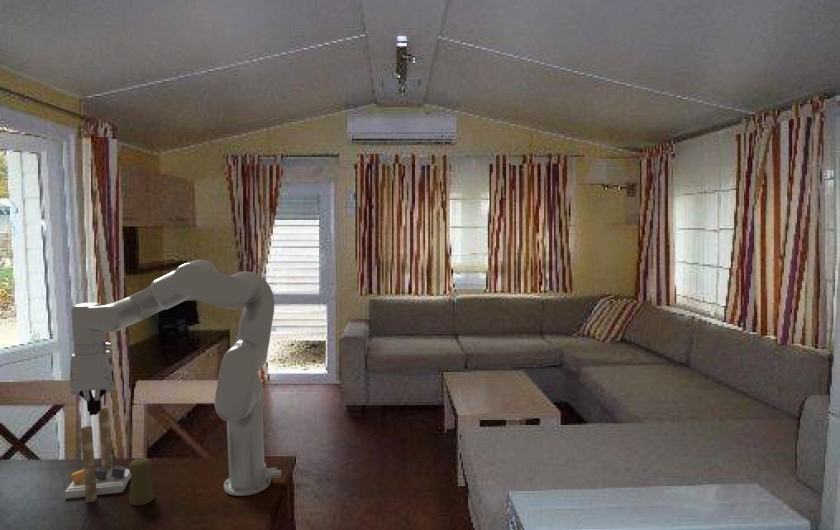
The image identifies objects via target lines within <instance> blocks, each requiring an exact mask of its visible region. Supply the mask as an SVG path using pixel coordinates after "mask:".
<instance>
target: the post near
mask: <svg viewBox="0 0 840 530" xmlns="http://www.w3.org/2000/svg"><path fill="white" fill-rule="evenodd" d="M80 438H81V439H80V441H81V454H82V466H83V467H82V468H83V469H84V483H85V496H84V497H85V502H86V503H88V504H89V503H93V502H96V501H97V500H98V495H97V490H96V476H95V470H96V465H95V451H94V438H93V427H92V425H86V426H83V427H81V428H80Z"/></svg>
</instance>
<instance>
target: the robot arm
mask: <svg viewBox="0 0 840 530" xmlns="http://www.w3.org/2000/svg"><path fill="white" fill-rule="evenodd" d="M274 296H275V295H274V293H273V290H272V287H271V286H270V284H269V283H268V281H266V280H265V278H264V277H262V276H261V275H259V274H258V273H255V272H253V271H247V270H244V271H243V270H242V271H239V272H236V273H233V274H230V275H229V274H225V273H223V272H219V271H218V269H217V267H216V266H215V264H214V263H212V262H211V261H209V260H208V259H207V260H206V259H196V260H192V261H188V262H185V263H183V264H181V265H179V266H178V267H177V268H176V269H175V270H172V271H171V272H169V273H167V274H164V275H162V276H159V277H157V278H156V279H154V280H153V281H151V284H150V285H149V286H148V287H146V288H144V289H142V290H140V291H138V292H136V293H133V294H132V295H129V296H127V297H125V298H123V299H120V300H117V301H114V302H111V303H108V304H103V305H102V303H99V302H97V301H96V302H93V301H91V302H81V303H77V304H74V305H73V306H72V307H71V310H70V311H71V314H70V315H71V325H72V326H71V327H72V338H73V339H72V341H73V352H74V353H72V354H71V358H70V365H69V366H70V367H69V388H70V394H71V395H74V396H80V397H81V398H83V399H84V401H85V402H86V408H87V409H86V411H87V412H89V416H97V415H99V411H100V410H101V407H102V401H101V400H102V399H101V398H102V397H103V396H104V395H105V394H108V393H111V392H112V393H113V392H115V389H116V387H115V382H116V374H115V368H114V363H113V358H112V354H111V351H110V350H108V349H111V348H112V347H113V346H112V344H113V343H112V342H107V339H106V333H116V332H118V331H119V332H120V331H121V330H124V329H125V328H128V327H129V326H131V325H135V324H137V323H138V322H141V321H143V320H145V319H147V318H149V317H151V316H153V315H155V314H157V313H159V312H161V311H164V310H169V309H171V308H173V307H175V306H177V305H180V304H181V303H183V302H185V301H188V300H190V299H193V300H196V301H200V302H203V303H207V304H210V305H212V306H217V307H220V308H222V309H223V308H224V309H230V310H235V309H236V310H237V309H240V308H241V307H243V308H242V313H241V315H240V319H239V325H238V331H237V336H236V340H235V343H234V344H233V345H232V346H230V348H228V350H227V351H226V352H225V353H224V355H223V357H222V359H221V363H220V367H219V372H218V378H217V383H216V390H215V395H214V409H215V412H216V414H217V415H218V417H219V418H220V419H222V420H223V421H225V422H226V429H227V431H226V432H227V433H226V434H227V435H226V436H227V455H228V460H227V461H228V478H227V479H225V481H224V483H223V490H224V492H225V493H226V494H229V495H230V496H231V495H232V496H236V497H246V496H252V495H256V494H260V492H263V491H264V490H266V489H267V488H268V487H269V486H270V485H271V482H272V481H271V480H272V479H273V478H277V479H278V478H282V470H281V469H278V467H271V468H269V467H267V463H266V462H265V446H264V445H265V444H264V443H265V442H264V401H265V390H264V386H263V382H262V380H261V379H260V378H259V377H258V373H259V372H260V370H261V369H262V368H263V367H264V366H265V364H266V362H267V360H268V359H267V358H268V353H269V352H268V351H269V345H270V342H271V341H270V339H271V333H272V327H273V320H274V315H275V314H274V313H275V297H274ZM93 391H94V395H93Z"/></svg>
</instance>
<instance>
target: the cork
mask: <svg viewBox="0 0 840 530" xmlns="http://www.w3.org/2000/svg"><path fill="white" fill-rule="evenodd" d="M128 469H129V471H130V473H131V474H132V475H131V478H130V487H129V497H128V498H129V499H128V500H129V501H128V502H129V505H131V506H142V505H146V504H148V503H150V501H151V502H152V501H153V500H154V499H155V494H154V489H153V485H152V480H151V479H152V478H151V475H150V469H151V461H150V459H148V458H147V457H139V458H135V459H133V460H132V461H131V462H130V463H129V465H128Z"/></svg>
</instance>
